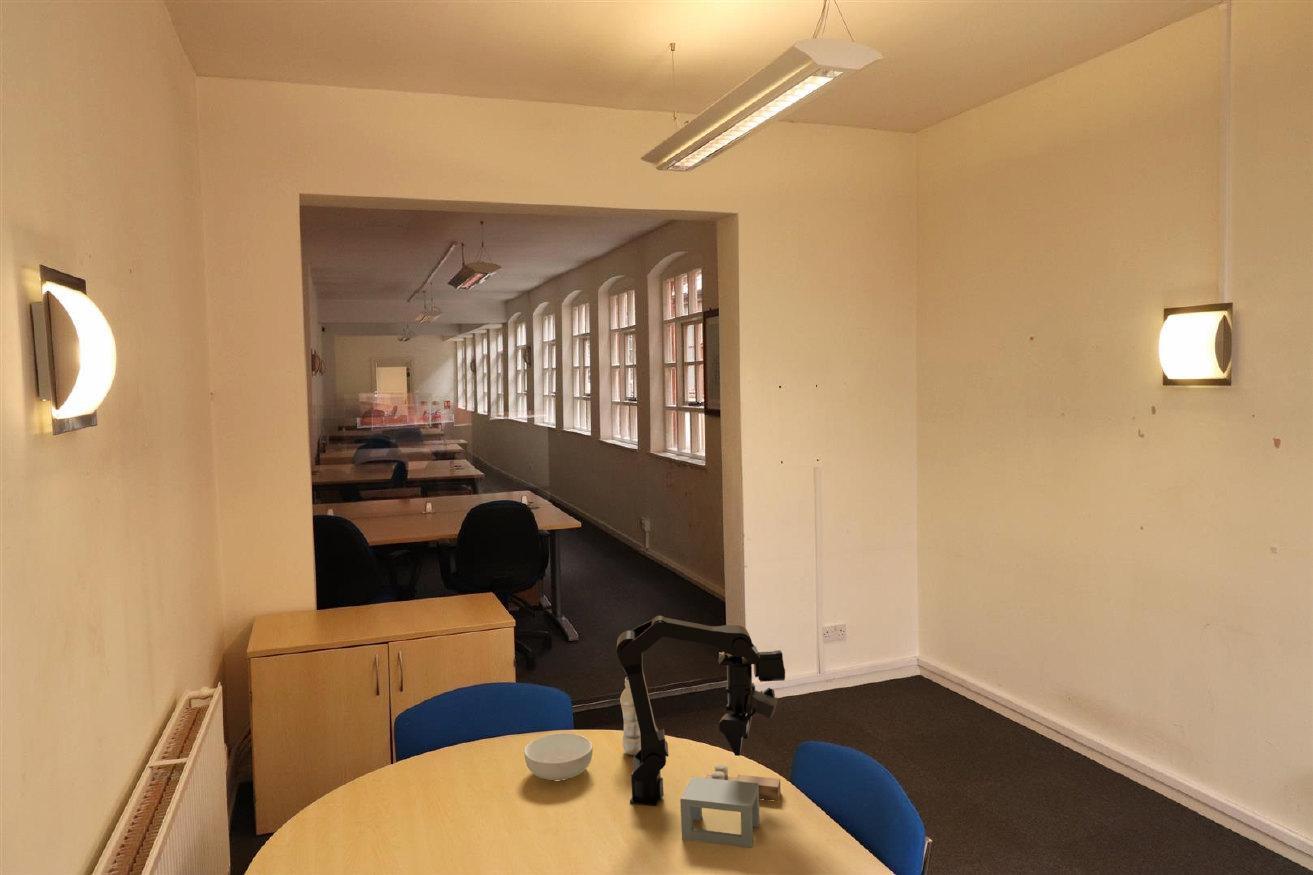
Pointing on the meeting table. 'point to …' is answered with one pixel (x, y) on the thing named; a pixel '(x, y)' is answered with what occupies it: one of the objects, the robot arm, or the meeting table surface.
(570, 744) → the cereal bowl
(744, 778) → the glasses tray
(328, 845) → the meeting table surface
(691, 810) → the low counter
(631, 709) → the plastic bottle
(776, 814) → the meeting table surface
